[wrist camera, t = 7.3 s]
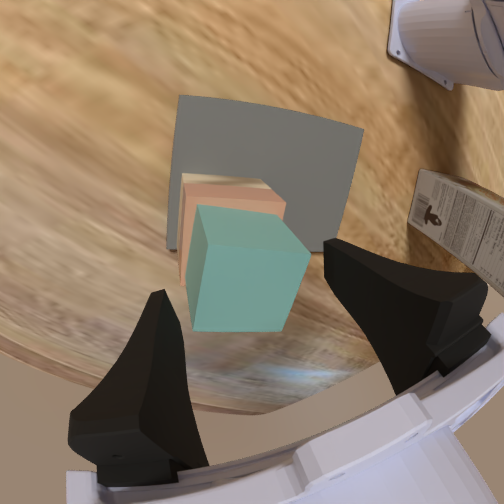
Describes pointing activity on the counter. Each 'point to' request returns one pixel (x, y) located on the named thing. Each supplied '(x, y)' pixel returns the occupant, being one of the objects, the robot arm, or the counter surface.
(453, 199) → the coffee box
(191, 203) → the terracotta slab
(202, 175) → the maple slab
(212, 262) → the teal block
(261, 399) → the counter surface
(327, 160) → the slate board
